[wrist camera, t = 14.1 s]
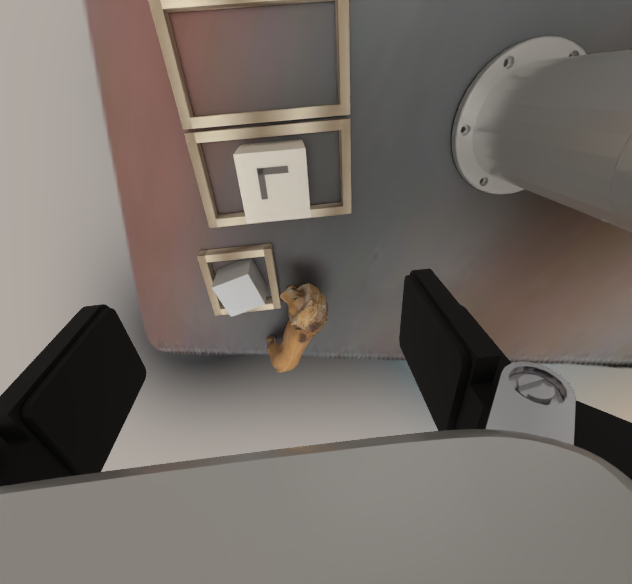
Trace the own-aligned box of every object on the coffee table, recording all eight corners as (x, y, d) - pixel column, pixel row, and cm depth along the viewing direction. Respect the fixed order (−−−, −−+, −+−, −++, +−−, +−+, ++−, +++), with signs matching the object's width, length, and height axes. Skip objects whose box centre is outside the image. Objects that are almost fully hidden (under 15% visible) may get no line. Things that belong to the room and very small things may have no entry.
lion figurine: (282, 253, 35) (282, 299, 27) (328, 261, 36) (341, 307, 28) (263, 352, 42) (259, 409, 34) (302, 356, 43) (307, 412, 36)
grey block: (251, 256, 34) (247, 273, 31) (266, 284, 37) (265, 304, 33) (218, 268, 35) (211, 287, 32) (235, 296, 37) (231, 317, 34)
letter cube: (301, 138, 29) (305, 148, 24) (306, 199, 32) (311, 217, 27) (241, 144, 28) (232, 154, 24) (251, 204, 31) (246, 224, 27)
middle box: (347, 117, 28) (350, 118, 27) (348, 209, 32) (351, 213, 31) (188, 131, 27) (184, 133, 26) (212, 222, 32) (209, 227, 31)
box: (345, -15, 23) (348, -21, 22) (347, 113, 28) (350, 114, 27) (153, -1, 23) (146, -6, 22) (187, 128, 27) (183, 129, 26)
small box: (271, 243, 34) (271, 248, 33) (280, 301, 38) (280, 308, 37) (199, 250, 33) (196, 256, 32) (217, 308, 38) (215, 315, 36)
